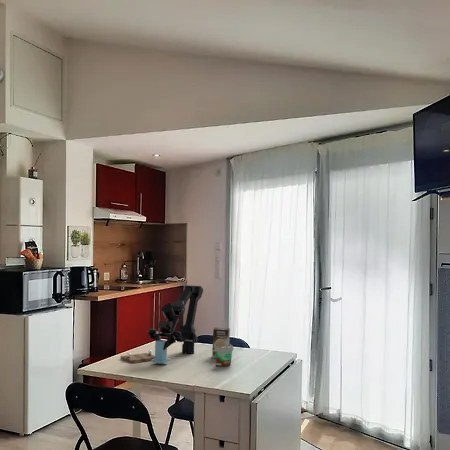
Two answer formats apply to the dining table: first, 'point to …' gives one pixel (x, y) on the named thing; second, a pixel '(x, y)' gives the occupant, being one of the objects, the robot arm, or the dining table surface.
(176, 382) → the dining table surface
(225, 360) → the food container
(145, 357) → the walnut base plate
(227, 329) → the coffee box
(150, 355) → the dowel pins
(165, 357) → the stepped blue block
